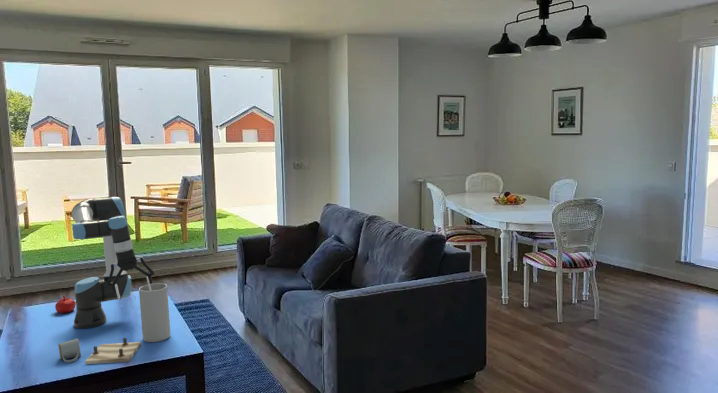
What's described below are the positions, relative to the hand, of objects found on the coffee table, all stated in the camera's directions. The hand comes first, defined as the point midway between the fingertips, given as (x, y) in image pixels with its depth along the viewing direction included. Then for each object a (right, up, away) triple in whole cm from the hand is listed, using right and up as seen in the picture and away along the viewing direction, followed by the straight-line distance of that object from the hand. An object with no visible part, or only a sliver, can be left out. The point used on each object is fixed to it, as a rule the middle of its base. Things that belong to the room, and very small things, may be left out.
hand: (135, 294), depth 248 cm
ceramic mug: (-24, -27, -9) cm, 37 cm away
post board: (-7, -25, -6) cm, 27 cm away
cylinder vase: (+5, -23, +12) cm, 27 cm away
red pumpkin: (-60, -19, +53) cm, 83 cm away
